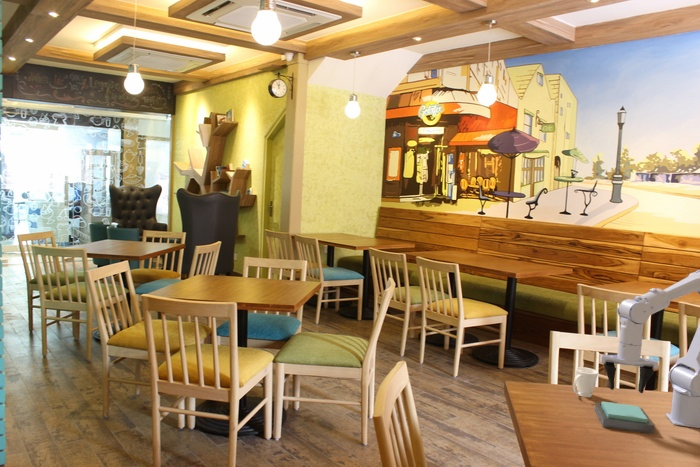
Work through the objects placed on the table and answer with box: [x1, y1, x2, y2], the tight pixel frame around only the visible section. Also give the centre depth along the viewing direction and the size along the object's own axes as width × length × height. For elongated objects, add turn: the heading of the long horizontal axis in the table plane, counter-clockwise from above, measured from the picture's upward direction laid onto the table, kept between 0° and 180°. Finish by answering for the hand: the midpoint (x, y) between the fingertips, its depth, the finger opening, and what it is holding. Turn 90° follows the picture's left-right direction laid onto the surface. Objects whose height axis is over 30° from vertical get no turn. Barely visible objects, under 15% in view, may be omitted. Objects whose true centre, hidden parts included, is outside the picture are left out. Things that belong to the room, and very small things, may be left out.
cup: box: [572, 366, 599, 398], centre depth 183 cm, size 7×10×8 cm
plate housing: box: [594, 401, 655, 435], centre depth 163 cm, size 13×13×2 cm
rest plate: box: [600, 401, 648, 423], centre depth 163 cm, size 10×10×2 cm
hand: (625, 390), depth 162 cm, fingers open, 7 cm apart
